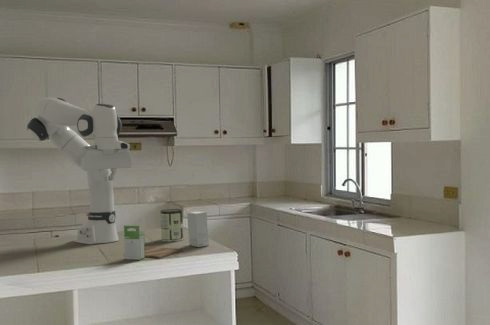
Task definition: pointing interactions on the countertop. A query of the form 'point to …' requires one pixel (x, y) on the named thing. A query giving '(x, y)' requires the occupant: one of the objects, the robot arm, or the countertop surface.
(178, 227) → the coffee can
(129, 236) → the ink box
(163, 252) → the walnut board
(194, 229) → the skincare box
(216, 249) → the countertop surface
